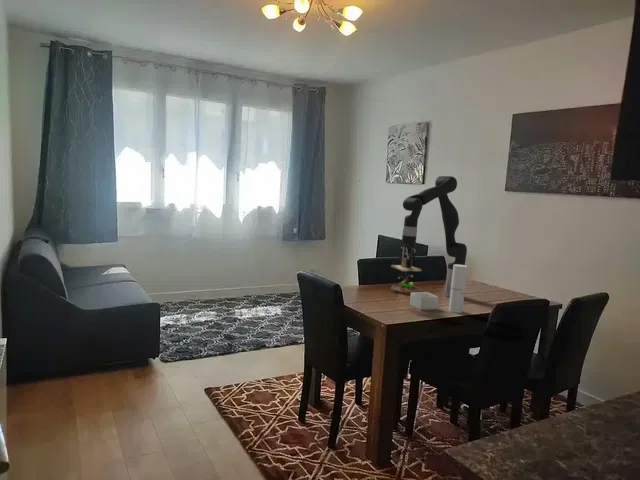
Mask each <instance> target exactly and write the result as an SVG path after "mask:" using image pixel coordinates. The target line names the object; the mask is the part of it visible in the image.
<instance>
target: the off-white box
mask: <svg viewBox="0 0 640 480" xmlns="http://www.w3.org/2000/svg"><path fill="white" fill-rule="evenodd" d="M438 300H439V296H438V295H435V294H433V293H430V292H428V291H423V292H411V294H410V295H409V306H410V307H411V306H412V307H413V308H415V309H417V310H420V311H428V310H429V311H430V310H431V311H432V310H437V309H438V302H439V301H438Z"/></svg>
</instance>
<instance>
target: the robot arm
mask: <svg viewBox="0 0 640 480" xmlns="http://www.w3.org/2000/svg"><path fill="white" fill-rule="evenodd" d="M434 185H435V186H433V187H428V188H427V189H424V190H422V191H421V192H419V193H417V194H413V195H410V196H408V197H406V198H405V199H404V200H403V202H402V207H403V209H404V210H405V211H409V212H411V213H410V214H408V215H406V216H404V222H403V229H402V237H401V238H402V239H401V243H402V245H399V254H400V257H401V258H402V257H403V258H407V259H408V260H407V267H411V261H412V262H413V260H415V259H416V255H417V252H418V249H415V245H416V243H417V234H418V223H419V222H418V220H419V217H420V215H421V213H422V209H423V206H425V205H427V204H428V203H430V202H431V201H433V200H436V199H438V202H439V205H440V206H439V207H440V211H441V217H442V224H443V228H444V229H443V230H444V234H445V235H444V236H445V250H446V253H447V255H448V256H449V257H450V258H454V261H452V262H448V264H447V270H446V279H445V280H446V281H445V291H444V296H445V297H448V298H450V293H451V284H452V274H453V265H454V264H459V265H465V266H466V260H467V254H468V247H467V245H466V244H465V243H461V242H457V241H456V231H457V230H458V227H459V224H460V218H459V211H458V209H457V208H456V207H455V205H454V204H453V203H452V201H451V200H450V198H449V195H448V194H450V193H453V192H454V191H455V190H456V189H457V186H458V180H457V179H456V177H454V176H450V175H449V176H447V175H443V176H442V175H441V176H438V177H437V178H436V179H435V182H434Z"/></svg>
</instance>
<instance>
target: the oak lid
mask: <svg viewBox="0 0 640 480" xmlns="http://www.w3.org/2000/svg"><path fill="white" fill-rule="evenodd" d="M407 260H408V259H407V258H403V257H401V264H391V265H390V267H391V268H393V269H396V270H399V271H401V272H422V271H423V270H422V269H421V268H419V267H416V266H413V265H412V264H413V260H412V261H411V267H407Z"/></svg>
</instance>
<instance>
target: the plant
mask: <svg viewBox="0 0 640 480" xmlns="http://www.w3.org/2000/svg"><path fill="white" fill-rule="evenodd" d="M413 277H414V275H413V274H408V275H407V276H406V278H405V277H404V276H403V275H402V276H401V275H400V276H398V277H397V279H398V280H400V279H401V278H402V279H403V280H402V281H400V282H398V284H392V285H391V287H390V290H389V291H390V292H391V293H393V294H398V295H405V296H410V294H411V292H424V290H423V289H422V288H421V287H419V286H415V283H414V282H413V281H410V282H409V278H413ZM413 283H414V284H413Z"/></svg>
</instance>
